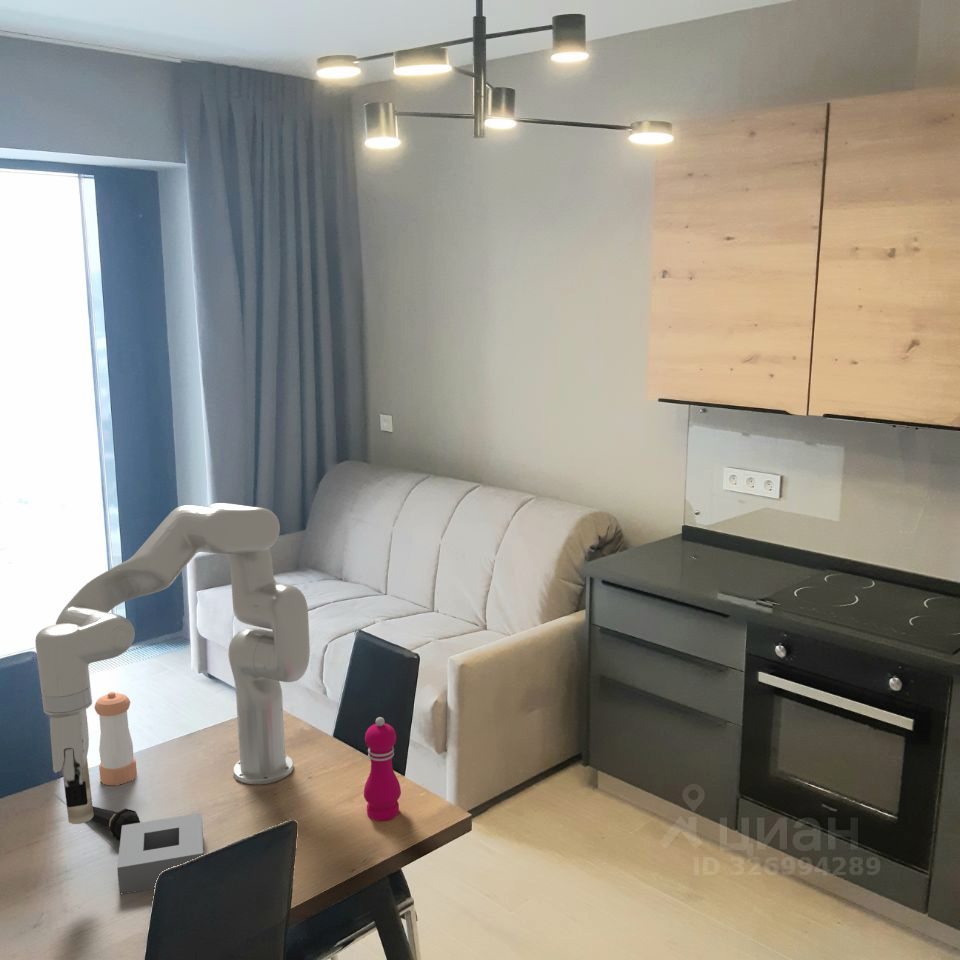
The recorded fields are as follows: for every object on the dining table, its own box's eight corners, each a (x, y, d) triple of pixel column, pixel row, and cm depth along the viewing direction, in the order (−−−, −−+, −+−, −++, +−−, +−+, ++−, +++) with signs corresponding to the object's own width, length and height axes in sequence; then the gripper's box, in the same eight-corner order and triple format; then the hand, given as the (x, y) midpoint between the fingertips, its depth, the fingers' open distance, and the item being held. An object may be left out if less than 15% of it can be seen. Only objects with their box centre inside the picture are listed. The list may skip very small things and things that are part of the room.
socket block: (124, 850, 175) (122, 825, 175) (203, 837, 180) (201, 812, 179) (119, 894, 162) (117, 867, 161) (205, 879, 166) (203, 853, 165)
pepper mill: (395, 824, 183) (392, 726, 180) (359, 820, 185) (355, 724, 181) (405, 805, 190) (403, 711, 187) (371, 801, 192) (367, 708, 188)
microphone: (71, 828, 189) (127, 849, 177) (58, 805, 187) (114, 826, 175) (93, 809, 193) (151, 828, 181) (81, 786, 191) (138, 805, 179)
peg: (69, 813, 165) (62, 749, 162) (94, 809, 166) (87, 746, 164) (67, 826, 161) (59, 760, 159) (92, 821, 162) (85, 756, 160)
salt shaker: (137, 781, 201) (130, 696, 197) (100, 788, 198) (92, 702, 195) (135, 766, 207) (129, 683, 204) (100, 773, 205) (92, 689, 201)
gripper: (49, 682, 166) (60, 778, 170) (35, 722, 150) (48, 828, 154) (95, 676, 168) (105, 771, 172) (86, 715, 152) (98, 819, 156)
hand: (78, 797), depth 163 cm, fingers closed on peg, 4 cm apart
